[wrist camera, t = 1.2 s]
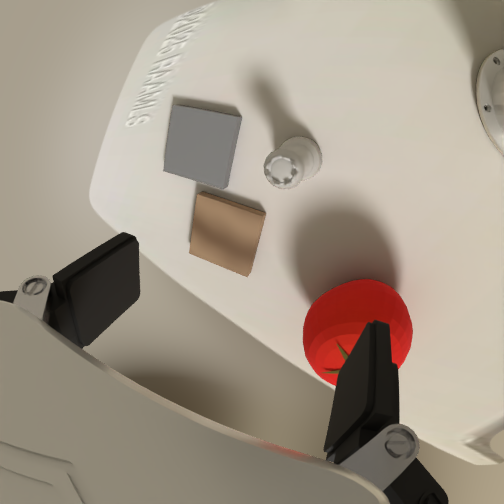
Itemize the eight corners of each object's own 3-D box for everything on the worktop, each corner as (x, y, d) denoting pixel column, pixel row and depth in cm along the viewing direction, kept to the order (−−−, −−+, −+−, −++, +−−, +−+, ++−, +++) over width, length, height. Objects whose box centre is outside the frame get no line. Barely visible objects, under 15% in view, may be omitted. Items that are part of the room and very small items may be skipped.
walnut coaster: (202, 191, 34) (197, 194, 33) (266, 213, 32) (262, 216, 31) (193, 249, 38) (189, 253, 37) (250, 272, 36) (247, 277, 35)
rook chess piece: (285, 182, 30) (261, 204, 23) (274, 141, 28) (245, 150, 22) (327, 174, 28) (316, 194, 21) (316, 131, 26) (301, 135, 20)
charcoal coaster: (178, 105, 30) (172, 105, 29) (242, 117, 28) (237, 117, 27) (169, 169, 34) (163, 171, 33) (227, 186, 32) (222, 189, 31)
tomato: (344, 354, 37) (332, 417, 28) (293, 293, 35) (267, 352, 27) (423, 318, 30) (433, 383, 22) (379, 243, 29) (383, 300, 20)
